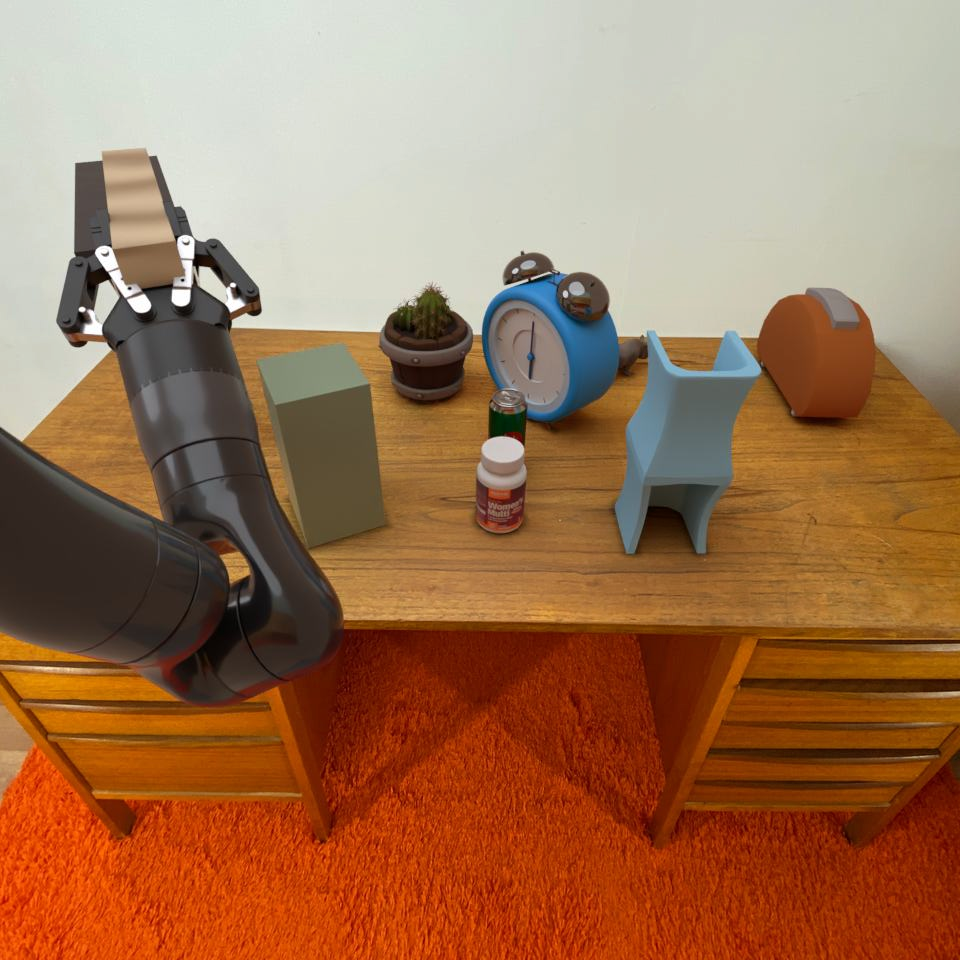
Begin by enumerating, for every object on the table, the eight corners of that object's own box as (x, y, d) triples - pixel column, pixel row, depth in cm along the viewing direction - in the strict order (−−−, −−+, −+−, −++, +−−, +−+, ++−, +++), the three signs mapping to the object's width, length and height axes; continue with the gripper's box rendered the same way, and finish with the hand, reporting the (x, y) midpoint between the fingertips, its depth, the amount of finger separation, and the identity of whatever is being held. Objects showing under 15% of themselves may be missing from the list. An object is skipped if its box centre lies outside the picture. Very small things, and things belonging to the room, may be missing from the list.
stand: (257, 492, 86) (185, 237, 64) (178, 513, 82) (73, 252, 60) (219, 372, 109) (156, 155, 87) (156, 385, 106) (74, 162, 84)
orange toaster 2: (854, 431, 98) (902, 332, 88) (796, 429, 99) (837, 330, 88) (799, 355, 116) (834, 265, 106) (750, 354, 116) (779, 264, 106)
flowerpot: (377, 371, 110) (365, 257, 97) (463, 361, 113) (463, 249, 100) (389, 418, 99) (377, 297, 86) (484, 406, 102) (486, 286, 89)
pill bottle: (487, 540, 79) (489, 470, 72) (468, 509, 84) (468, 440, 76) (531, 527, 81) (537, 458, 74) (511, 497, 86) (515, 429, 78)
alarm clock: (478, 391, 106) (480, 250, 91) (520, 371, 111) (529, 235, 95) (568, 448, 94) (588, 298, 79) (611, 424, 99) (637, 278, 84)
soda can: (496, 454, 93) (499, 383, 85) (528, 463, 91) (534, 392, 83) (481, 473, 89) (482, 401, 82) (514, 484, 88) (518, 412, 80)
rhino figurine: (660, 365, 113) (667, 334, 109) (601, 387, 107) (606, 356, 103) (643, 355, 115) (649, 325, 112) (585, 377, 110) (589, 345, 106)
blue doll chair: (684, 499, 86) (735, 329, 70) (706, 553, 78) (768, 377, 62) (611, 500, 86) (646, 329, 69) (626, 554, 78) (668, 376, 62)
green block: (386, 524, 81) (370, 383, 68) (308, 548, 78) (274, 404, 64) (362, 478, 88) (343, 341, 75) (289, 499, 85) (255, 359, 71)
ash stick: (187, 282, 46) (175, 240, 44) (127, 291, 45) (111, 248, 43) (155, 179, 65) (145, 147, 63) (112, 184, 64) (101, 151, 62)
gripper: (293, 354, 43) (227, 162, 48) (55, 402, 38) (7, 183, 43) (297, 407, 50) (238, 234, 54) (95, 453, 45) (50, 259, 50)
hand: (137, 213), depth 49 cm, fingers closed on ash stick, 4 cm apart
